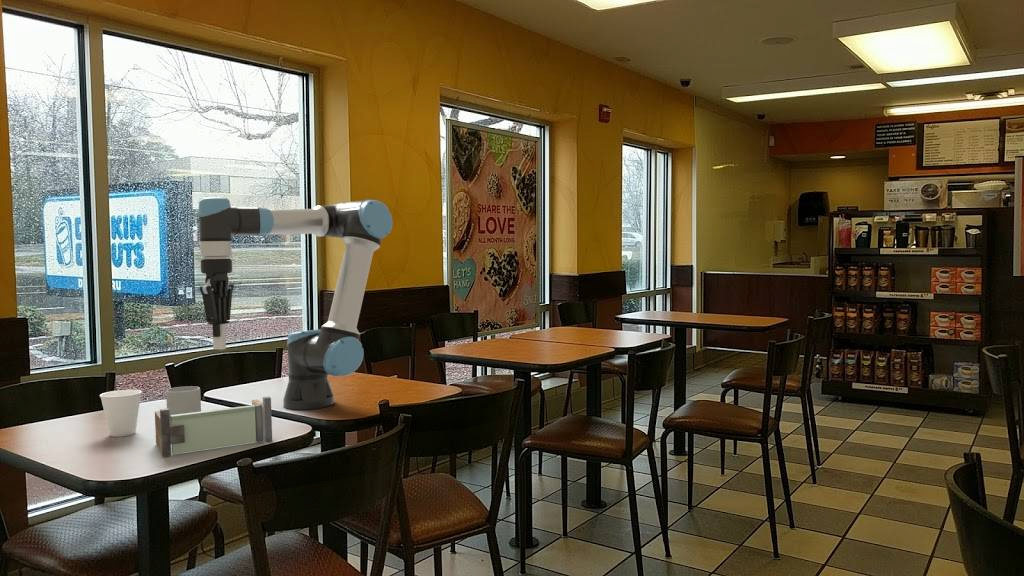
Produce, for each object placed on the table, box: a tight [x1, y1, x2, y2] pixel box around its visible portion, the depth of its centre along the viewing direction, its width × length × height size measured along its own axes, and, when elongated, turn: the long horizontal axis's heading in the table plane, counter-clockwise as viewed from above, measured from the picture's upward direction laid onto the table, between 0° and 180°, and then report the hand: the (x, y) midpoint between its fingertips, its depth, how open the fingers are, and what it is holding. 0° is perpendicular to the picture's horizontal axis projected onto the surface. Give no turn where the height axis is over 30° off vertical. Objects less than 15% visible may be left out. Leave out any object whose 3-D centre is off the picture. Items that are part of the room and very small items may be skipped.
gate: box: [170, 404, 264, 455], centre depth 182 cm, size 21×2×9 cm, turn 122°
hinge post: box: [251, 396, 273, 443], centre depth 194 cm, size 2×14×11 cm, turn 32°
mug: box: [165, 385, 202, 427], centre depth 204 cm, size 12×8×11 cm
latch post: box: [154, 407, 185, 458], centre depth 181 cm, size 5×15×11 cm, turn 32°
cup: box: [99, 389, 143, 438], centre depth 198 cm, size 10×10×11 cm
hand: (219, 349), depth 195 cm, fingers closed
